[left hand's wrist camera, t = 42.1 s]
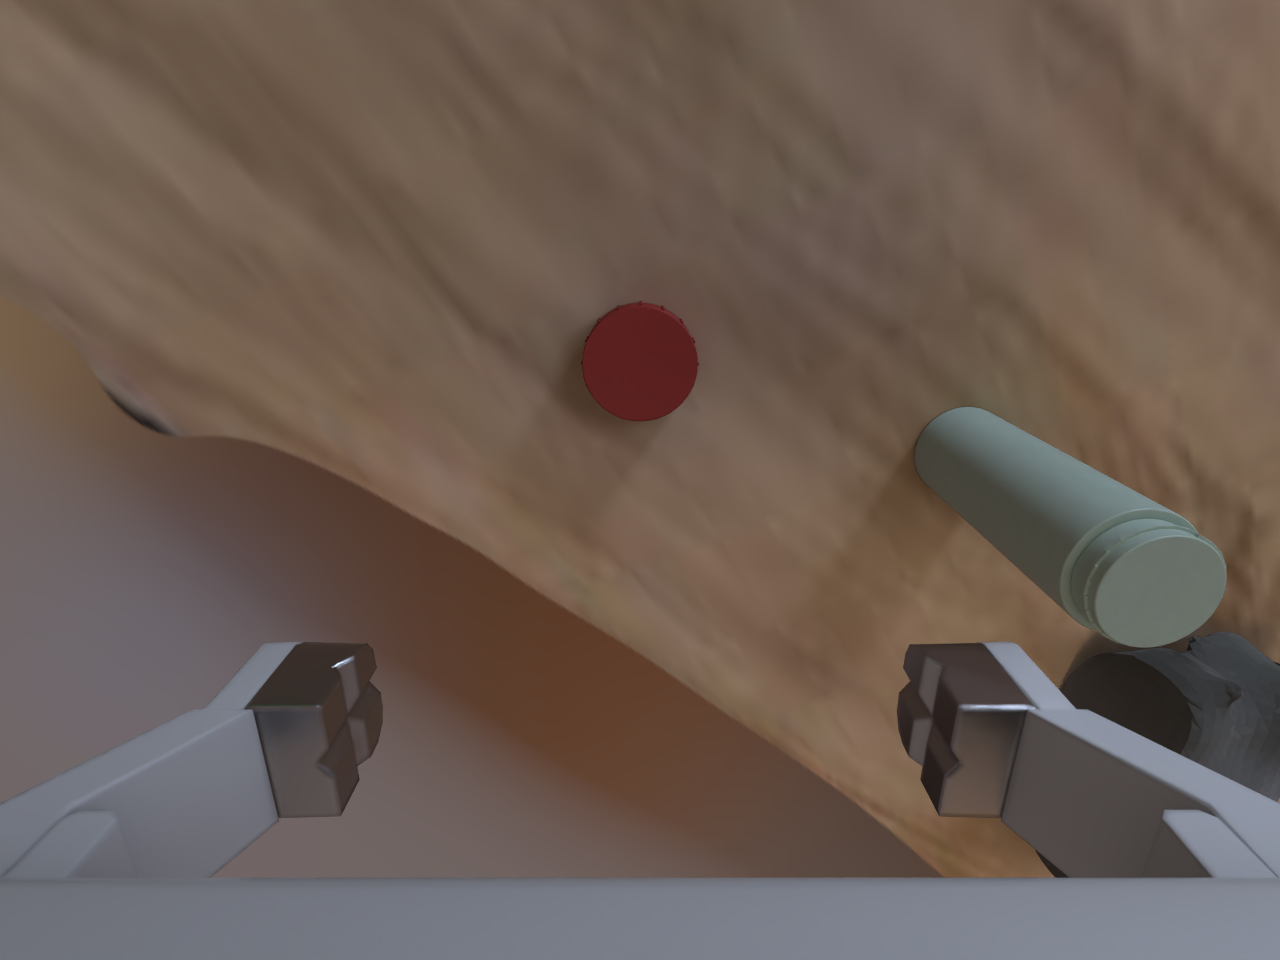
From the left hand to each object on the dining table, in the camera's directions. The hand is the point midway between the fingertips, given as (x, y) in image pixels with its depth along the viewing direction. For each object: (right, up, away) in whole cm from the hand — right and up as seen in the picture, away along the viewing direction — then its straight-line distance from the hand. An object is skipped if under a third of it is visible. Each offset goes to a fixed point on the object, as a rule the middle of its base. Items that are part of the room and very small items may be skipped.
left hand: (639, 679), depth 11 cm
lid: (0, +9, +23) cm, 25 cm away
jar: (+17, +5, +26) cm, 32 cm away
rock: (+31, -13, +33) cm, 47 cm away
